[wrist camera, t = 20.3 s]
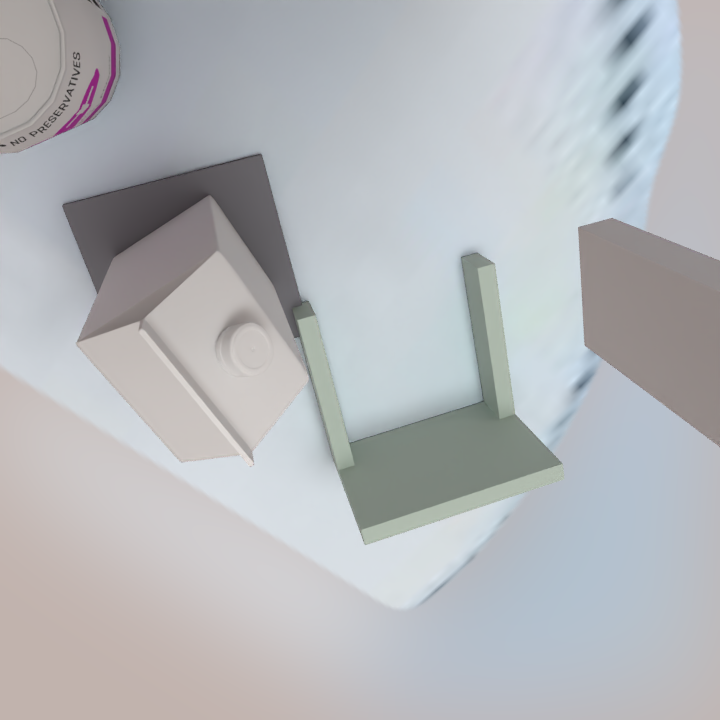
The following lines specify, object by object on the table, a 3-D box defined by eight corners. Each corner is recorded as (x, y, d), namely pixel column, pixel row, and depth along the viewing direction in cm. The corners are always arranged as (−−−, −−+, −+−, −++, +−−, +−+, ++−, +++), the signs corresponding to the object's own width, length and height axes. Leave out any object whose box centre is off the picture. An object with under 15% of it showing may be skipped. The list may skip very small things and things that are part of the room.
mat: (63, 204, 40) (62, 205, 40) (260, 154, 42) (261, 154, 41) (134, 381, 45) (134, 384, 45) (308, 331, 47) (309, 333, 46)
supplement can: (149, 93, 39) (128, 101, 25) (17, 154, 39) (-77, 195, 25) (70, -62, 35) (-5, -147, 22) (-77, 4, 35) (-245, -42, 22)
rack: (290, 305, 46) (315, 362, 37) (477, 252, 47) (544, 294, 38) (334, 462, 51) (365, 545, 42) (500, 410, 53) (564, 479, 44)
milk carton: (183, 346, 44) (178, 514, 27) (112, 257, 41) (56, 383, 24) (274, 286, 44) (327, 418, 27) (210, 192, 41) (223, 274, 24)
